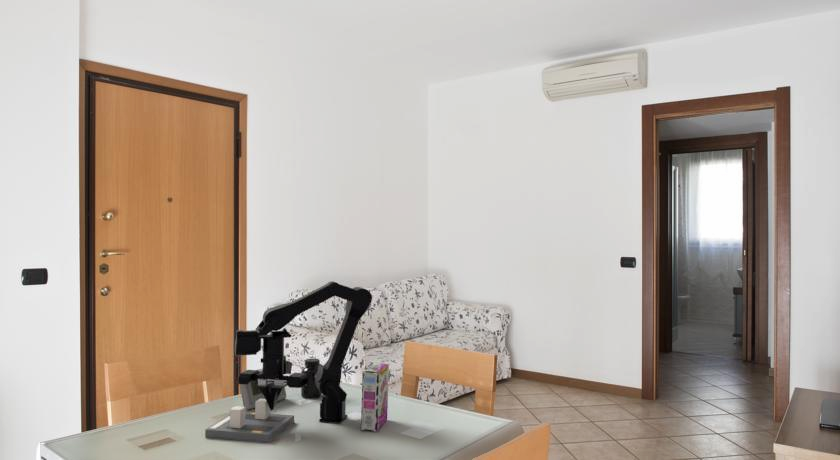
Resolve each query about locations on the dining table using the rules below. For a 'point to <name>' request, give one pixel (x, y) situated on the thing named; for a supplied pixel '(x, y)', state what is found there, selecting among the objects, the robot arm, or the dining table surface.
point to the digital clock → (255, 393)
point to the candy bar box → (374, 397)
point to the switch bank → (251, 428)
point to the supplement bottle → (310, 379)
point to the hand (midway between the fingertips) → (272, 409)
